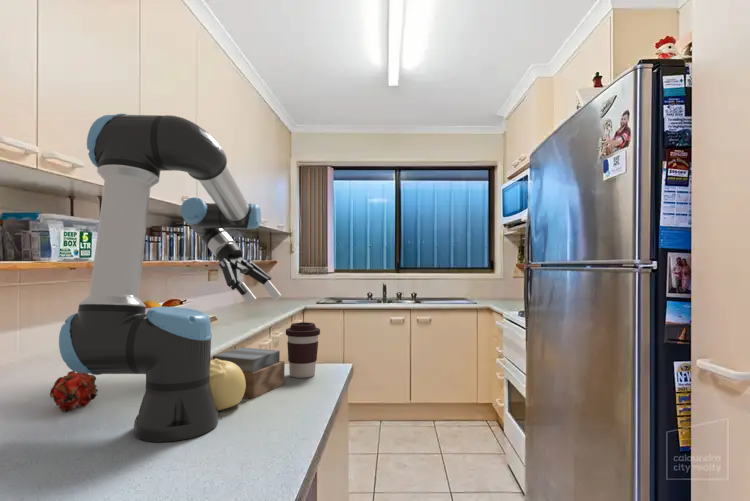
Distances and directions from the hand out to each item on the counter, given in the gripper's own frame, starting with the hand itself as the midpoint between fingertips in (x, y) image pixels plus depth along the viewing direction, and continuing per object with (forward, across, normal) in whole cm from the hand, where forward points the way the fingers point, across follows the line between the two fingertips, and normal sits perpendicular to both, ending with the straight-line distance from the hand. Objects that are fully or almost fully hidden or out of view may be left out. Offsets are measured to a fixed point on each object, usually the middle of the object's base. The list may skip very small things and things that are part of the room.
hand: (266, 299), depth 134 cm
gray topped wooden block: (+19, +18, -11) cm, 28 cm away
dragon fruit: (+1, +45, -29) cm, 53 cm away
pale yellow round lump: (+21, +33, -9) cm, 40 cm away
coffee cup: (+25, +1, -6) cm, 25 cm away
